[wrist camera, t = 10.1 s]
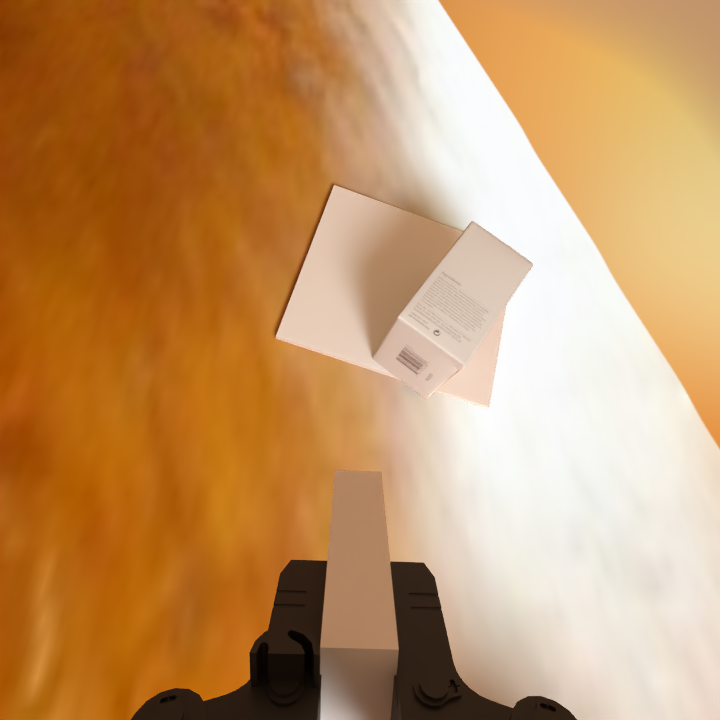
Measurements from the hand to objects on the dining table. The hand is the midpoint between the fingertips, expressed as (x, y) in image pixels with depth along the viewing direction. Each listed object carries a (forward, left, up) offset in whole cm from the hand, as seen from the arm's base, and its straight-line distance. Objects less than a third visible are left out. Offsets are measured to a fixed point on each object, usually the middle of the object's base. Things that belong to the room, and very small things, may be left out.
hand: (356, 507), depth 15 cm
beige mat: (-20, +2, -19) cm, 28 cm away
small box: (-12, +4, -14) cm, 19 cm away
